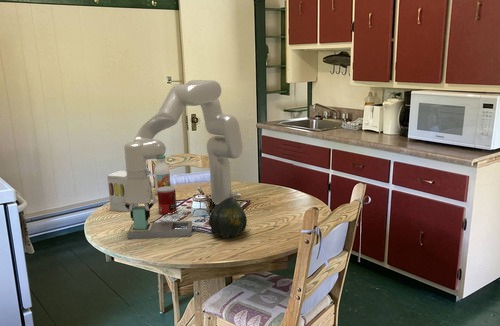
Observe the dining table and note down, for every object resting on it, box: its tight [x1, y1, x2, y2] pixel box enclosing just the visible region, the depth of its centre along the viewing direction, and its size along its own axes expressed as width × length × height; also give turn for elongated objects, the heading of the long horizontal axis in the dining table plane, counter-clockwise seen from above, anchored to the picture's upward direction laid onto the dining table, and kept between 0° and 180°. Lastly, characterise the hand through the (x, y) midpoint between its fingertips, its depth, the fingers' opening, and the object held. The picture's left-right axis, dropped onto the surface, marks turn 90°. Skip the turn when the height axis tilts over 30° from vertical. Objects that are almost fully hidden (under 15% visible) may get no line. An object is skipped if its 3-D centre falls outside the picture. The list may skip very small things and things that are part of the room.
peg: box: [133, 205, 149, 230], centre depth 169 cm, size 4×4×8 cm
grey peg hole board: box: [127, 220, 193, 240], centre depth 171 cm, size 24×10×3 cm, turn 93°
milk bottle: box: [153, 154, 172, 196], centre depth 220 cm, size 8×8×20 cm
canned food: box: [156, 186, 177, 216], centre depth 193 cm, size 8×8×11 cm
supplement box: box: [107, 170, 139, 213], centre depth 199 cm, size 10×9×17 cm
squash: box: [208, 197, 248, 239], centre depth 167 cm, size 14×15×15 cm
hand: (140, 219), depth 170 cm, fingers closed on peg, 4 cm apart
